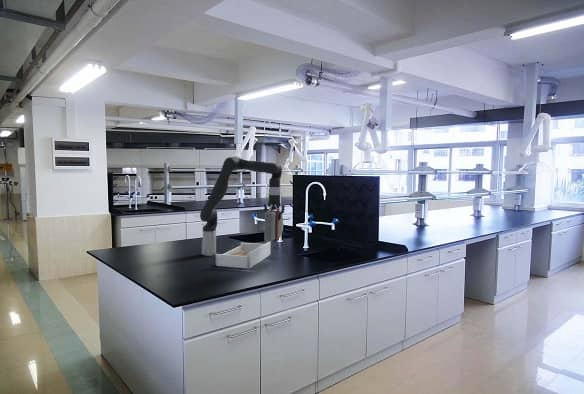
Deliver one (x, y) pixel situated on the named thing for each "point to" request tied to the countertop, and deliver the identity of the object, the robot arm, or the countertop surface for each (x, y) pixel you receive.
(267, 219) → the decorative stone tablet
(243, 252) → the top offcut
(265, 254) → the white open box
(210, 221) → the robot arm
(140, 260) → the countertop surface
